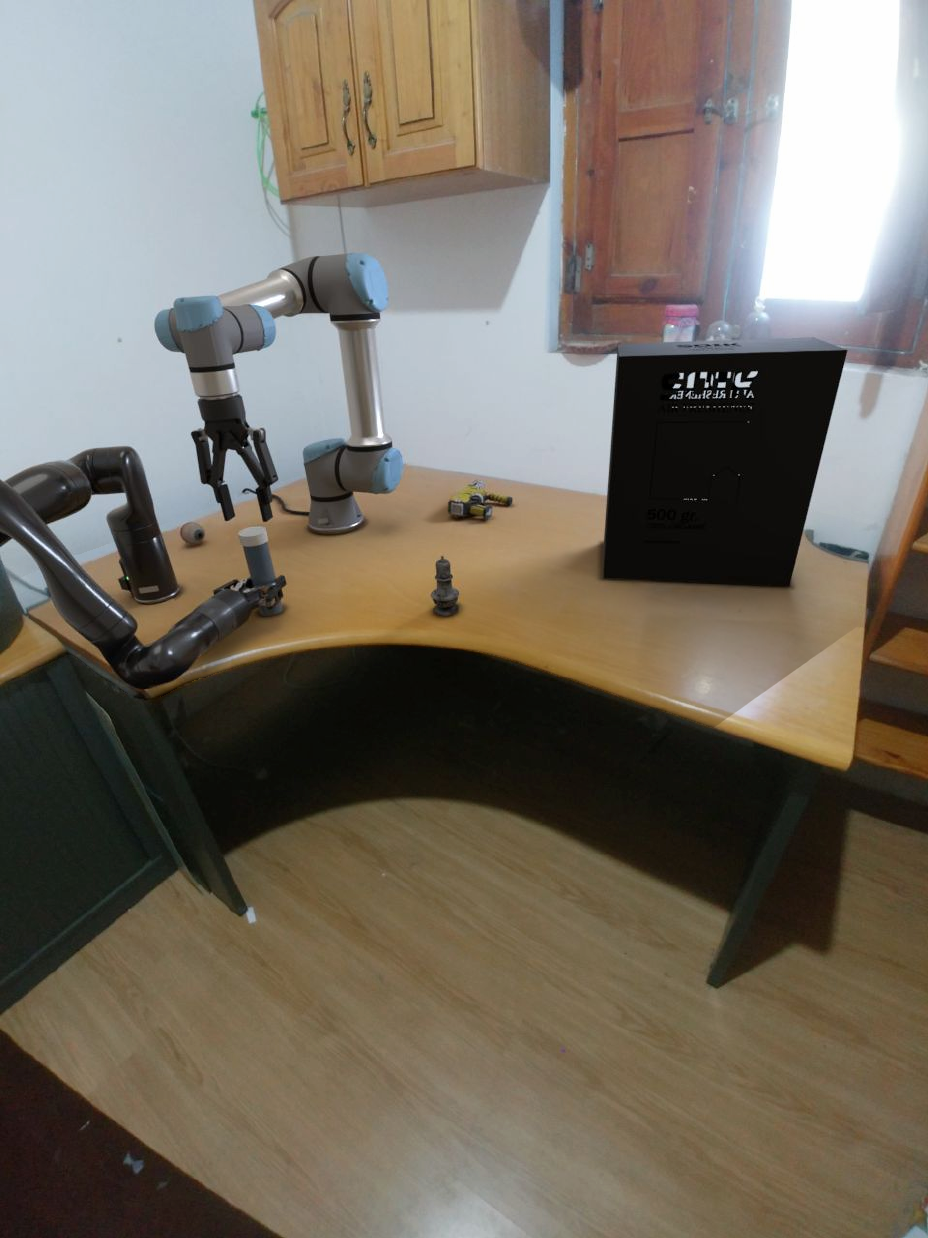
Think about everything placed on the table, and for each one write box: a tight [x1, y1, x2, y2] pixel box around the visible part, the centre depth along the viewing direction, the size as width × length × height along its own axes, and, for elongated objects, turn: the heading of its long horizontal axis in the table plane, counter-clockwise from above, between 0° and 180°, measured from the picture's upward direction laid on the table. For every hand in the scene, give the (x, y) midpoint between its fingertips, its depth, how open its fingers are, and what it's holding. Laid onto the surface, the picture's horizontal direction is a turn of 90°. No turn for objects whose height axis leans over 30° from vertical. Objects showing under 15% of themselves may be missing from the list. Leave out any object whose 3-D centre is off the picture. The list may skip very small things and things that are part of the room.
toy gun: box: [447, 479, 514, 521], centre depth 175 cm, size 5×24×15 cm
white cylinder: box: [237, 525, 269, 547], centre depth 119 cm, size 5×5×2 cm
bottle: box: [242, 541, 284, 617], centre depth 123 cm, size 5×5×18 cm
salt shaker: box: [430, 555, 461, 616], centre depth 121 cm, size 6×6×12 cm
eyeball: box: [179, 521, 206, 546], centre depth 161 cm, size 6×6×6 cm
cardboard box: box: [602, 336, 849, 588], centre depth 126 cm, size 38×20×45 cm, turn 78°
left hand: (271, 577), depth 126 cm, fingers open, 5 cm apart
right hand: (248, 518), depth 117 cm, fingers open, 7 cm apart
